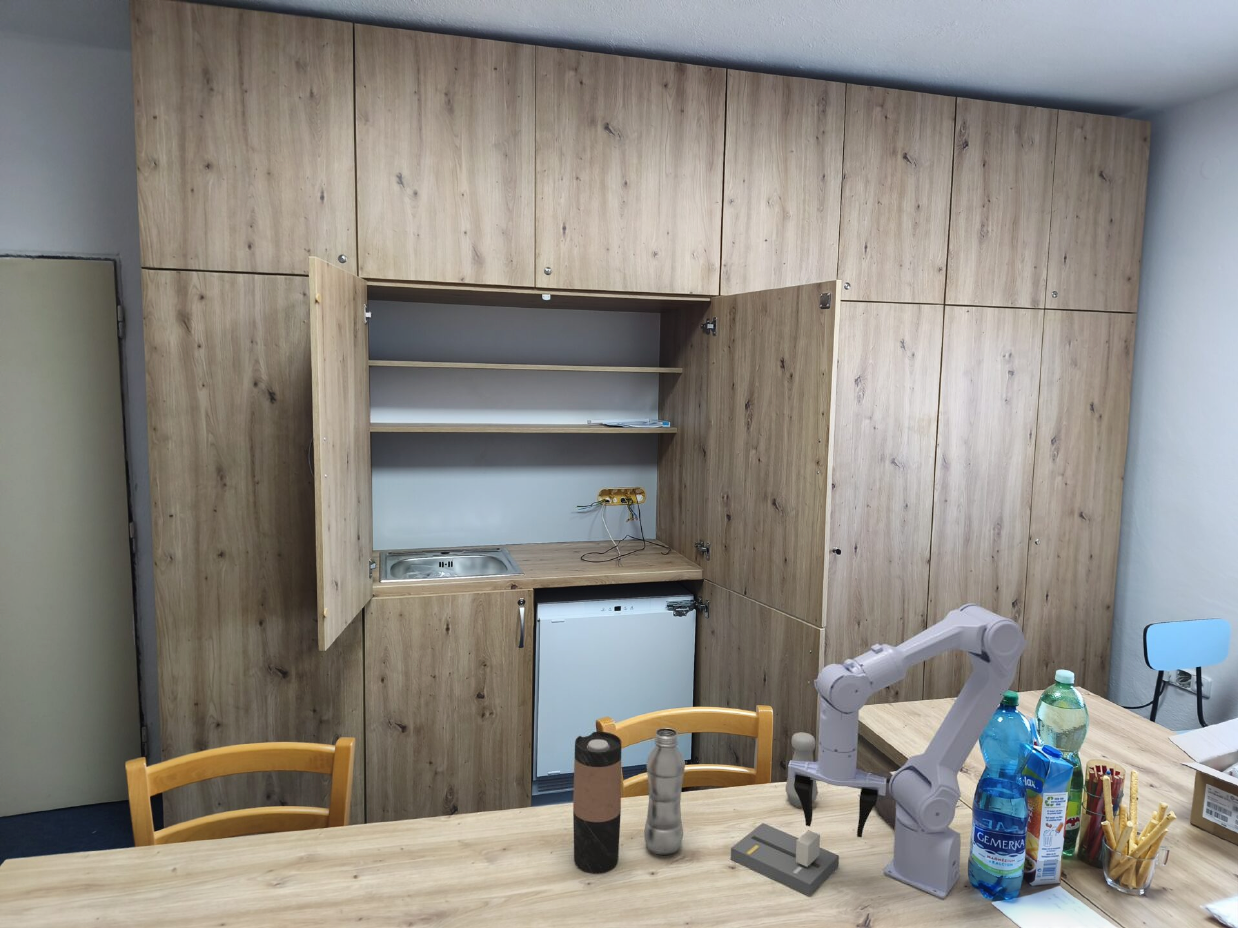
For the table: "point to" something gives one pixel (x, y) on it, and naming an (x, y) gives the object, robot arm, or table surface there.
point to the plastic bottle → (664, 794)
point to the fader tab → (807, 848)
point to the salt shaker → (802, 753)
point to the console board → (783, 859)
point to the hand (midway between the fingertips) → (834, 828)
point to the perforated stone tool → (886, 800)
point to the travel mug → (597, 801)
